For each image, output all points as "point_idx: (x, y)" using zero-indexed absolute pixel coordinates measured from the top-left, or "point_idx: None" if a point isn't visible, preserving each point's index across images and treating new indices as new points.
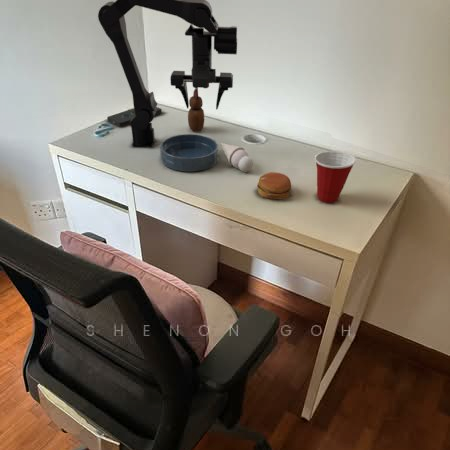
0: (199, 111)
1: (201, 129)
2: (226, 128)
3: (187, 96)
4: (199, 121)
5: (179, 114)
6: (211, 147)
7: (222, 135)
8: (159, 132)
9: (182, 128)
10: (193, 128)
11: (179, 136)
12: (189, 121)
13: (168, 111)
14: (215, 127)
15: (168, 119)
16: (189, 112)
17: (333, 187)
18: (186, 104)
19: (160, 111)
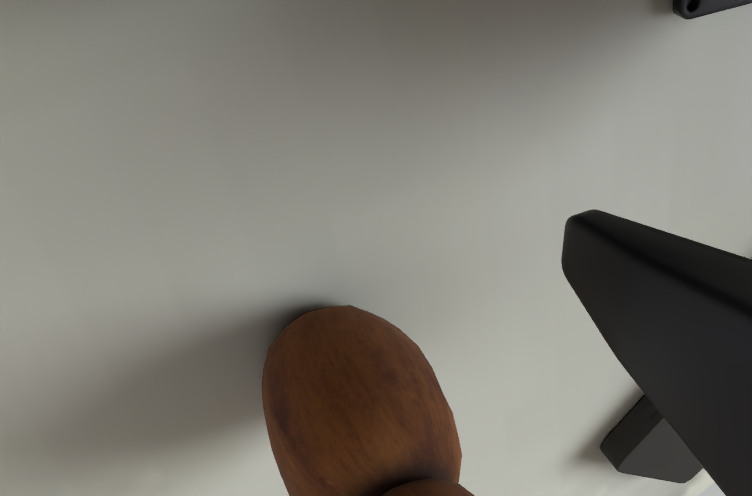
0: (347, 483)
1: (268, 351)
2: (43, 493)
3: (748, 420)
4: (308, 384)
5: (488, 490)
6: None
7: (11, 359)
8: (618, 179)
9: (442, 322)
10: (346, 314)
11: None
12: (411, 350)
13: (559, 487)
14: (160, 461)
15: (555, 399)
16: (450, 431)
17: None
18: (664, 237)
19: (616, 451)
